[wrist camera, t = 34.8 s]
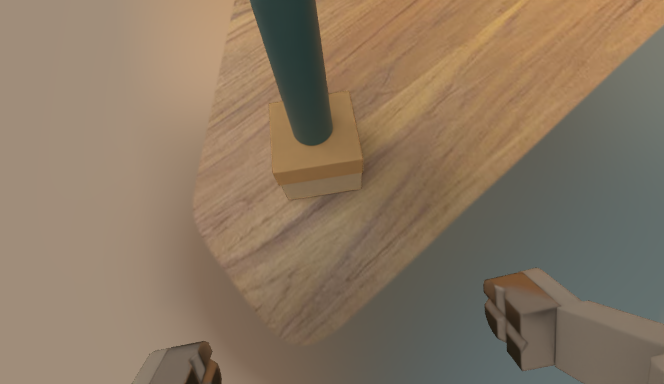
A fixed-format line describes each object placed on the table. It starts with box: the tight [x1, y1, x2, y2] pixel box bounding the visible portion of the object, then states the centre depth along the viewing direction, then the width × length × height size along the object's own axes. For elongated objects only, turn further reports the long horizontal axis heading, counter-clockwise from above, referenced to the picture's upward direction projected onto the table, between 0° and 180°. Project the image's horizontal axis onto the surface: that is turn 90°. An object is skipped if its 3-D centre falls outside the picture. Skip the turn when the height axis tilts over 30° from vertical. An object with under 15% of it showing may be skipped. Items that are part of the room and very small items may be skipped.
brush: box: [250, 0, 363, 200], centre depth 17 cm, size 5×5×14 cm
